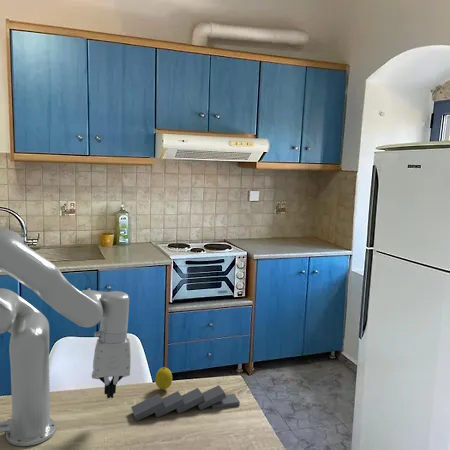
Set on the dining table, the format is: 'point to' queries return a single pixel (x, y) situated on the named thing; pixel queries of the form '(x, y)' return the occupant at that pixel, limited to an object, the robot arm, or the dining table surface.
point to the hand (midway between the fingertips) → (109, 395)
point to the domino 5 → (227, 402)
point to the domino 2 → (170, 403)
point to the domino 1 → (147, 407)
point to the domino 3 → (191, 400)
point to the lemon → (163, 378)
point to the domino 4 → (212, 397)
